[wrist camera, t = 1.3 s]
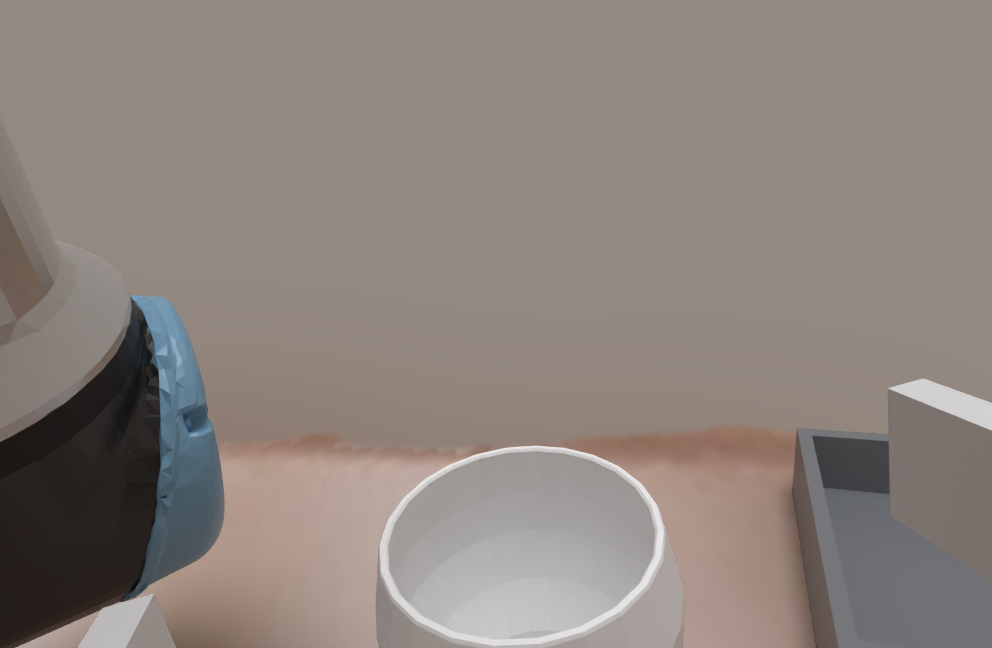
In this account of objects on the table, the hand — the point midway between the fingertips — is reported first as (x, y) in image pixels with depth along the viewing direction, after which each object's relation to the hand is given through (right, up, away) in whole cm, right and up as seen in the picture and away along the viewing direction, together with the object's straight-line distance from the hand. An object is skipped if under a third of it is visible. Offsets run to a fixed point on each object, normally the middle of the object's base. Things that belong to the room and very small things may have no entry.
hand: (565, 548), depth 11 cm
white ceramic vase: (+1, -17, +15) cm, 23 cm away
